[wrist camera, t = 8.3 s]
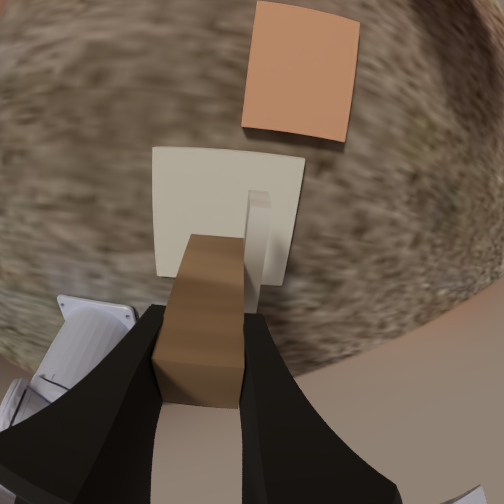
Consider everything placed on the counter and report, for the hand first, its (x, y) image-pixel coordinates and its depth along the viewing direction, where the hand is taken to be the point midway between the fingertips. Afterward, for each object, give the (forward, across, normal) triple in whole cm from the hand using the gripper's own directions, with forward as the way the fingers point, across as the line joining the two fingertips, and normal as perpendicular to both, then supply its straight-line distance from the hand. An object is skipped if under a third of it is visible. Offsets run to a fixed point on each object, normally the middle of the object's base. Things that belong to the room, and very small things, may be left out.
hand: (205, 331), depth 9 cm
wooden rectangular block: (+5, 0, 0) cm, 5 cm away
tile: (+10, -1, -10) cm, 14 cm away
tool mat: (+10, 0, 0) cm, 10 cm away
